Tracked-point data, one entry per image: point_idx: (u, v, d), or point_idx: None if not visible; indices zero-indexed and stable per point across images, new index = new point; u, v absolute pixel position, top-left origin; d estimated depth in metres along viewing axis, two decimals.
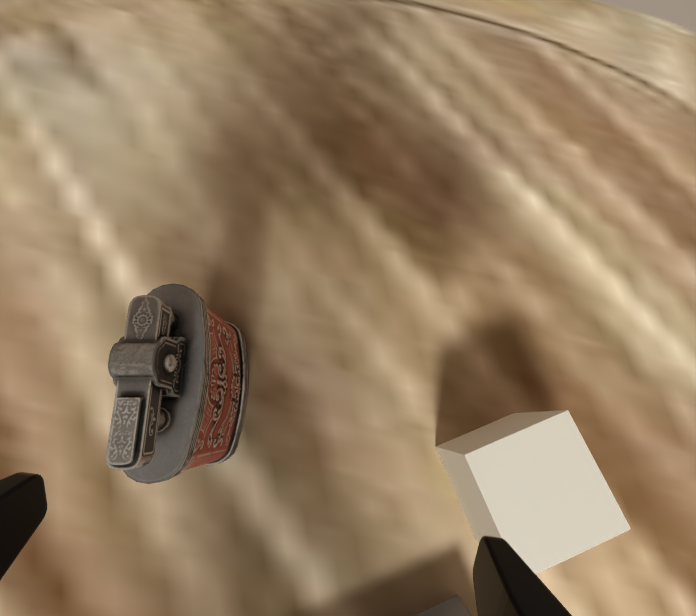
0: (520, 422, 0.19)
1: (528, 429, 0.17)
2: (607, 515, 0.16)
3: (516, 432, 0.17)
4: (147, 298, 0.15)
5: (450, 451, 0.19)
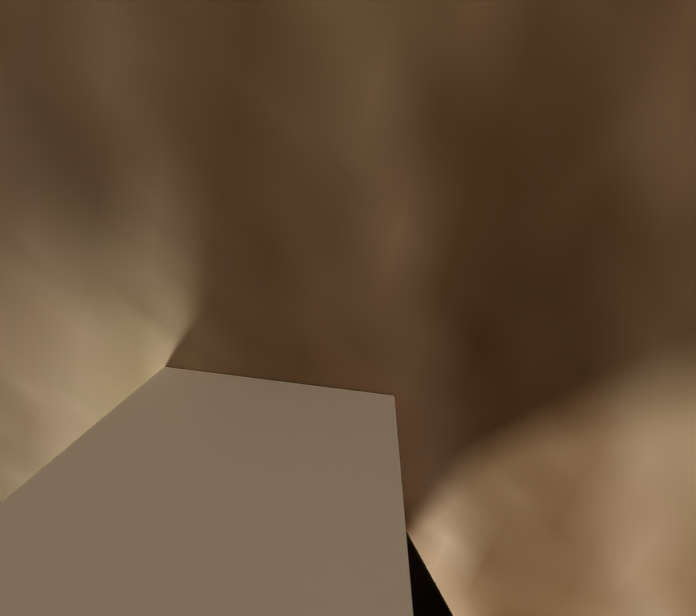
0: (289, 550, 0.05)
1: None
2: None
3: None
4: None
5: (33, 479, 0.05)
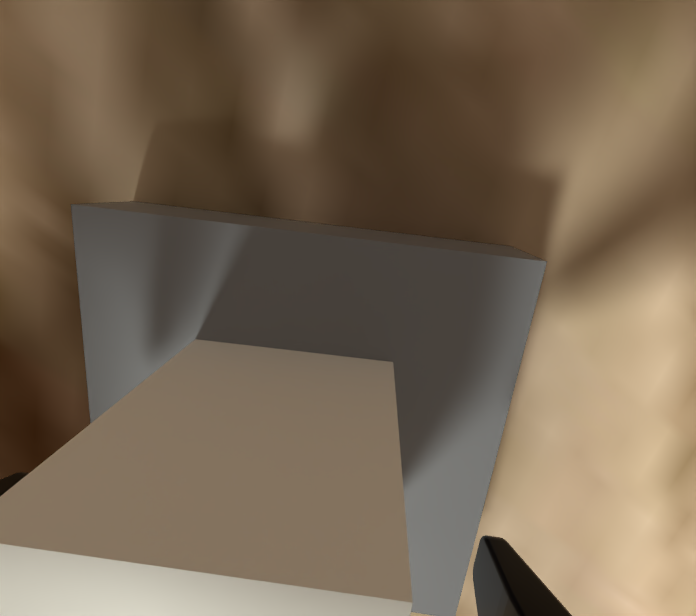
0: (309, 460, 0.06)
1: (225, 580, 0.04)
2: None
3: (180, 562, 0.04)
4: None
5: (105, 414, 0.07)
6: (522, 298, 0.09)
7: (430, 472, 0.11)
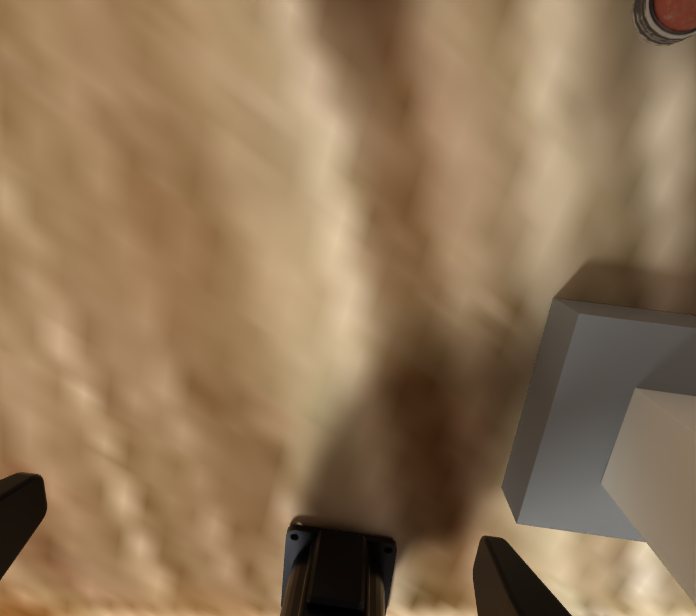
0: None
1: None
2: None
3: None
4: None
5: None
6: None
7: None
